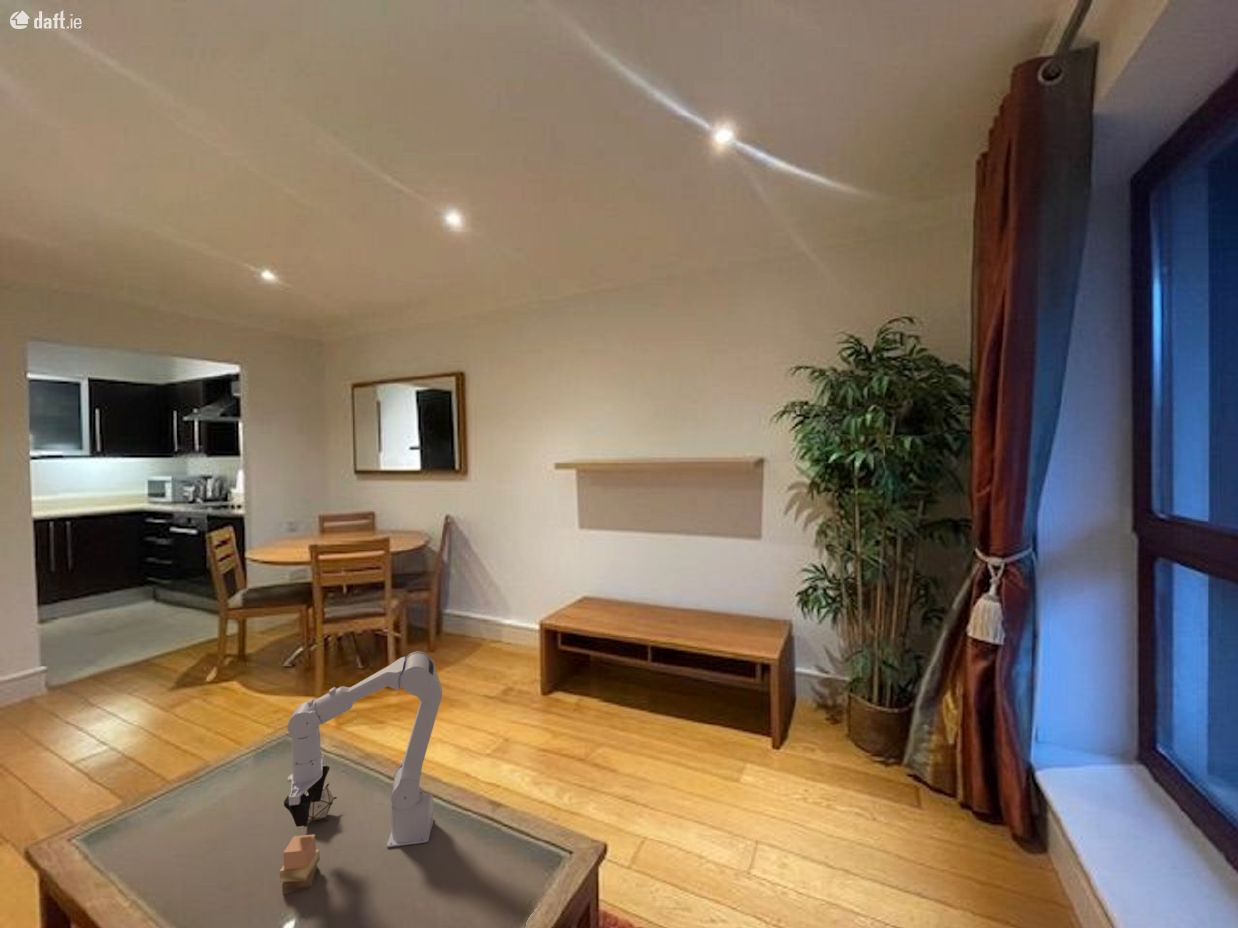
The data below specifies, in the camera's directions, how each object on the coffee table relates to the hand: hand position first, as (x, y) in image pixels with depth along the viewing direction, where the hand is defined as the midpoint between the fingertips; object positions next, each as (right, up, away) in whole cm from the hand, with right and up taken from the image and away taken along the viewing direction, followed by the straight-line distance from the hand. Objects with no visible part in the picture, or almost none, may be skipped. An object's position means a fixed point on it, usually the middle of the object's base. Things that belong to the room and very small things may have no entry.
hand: (308, 812), depth 121 cm
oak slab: (+2, -9, -6) cm, 11 cm away
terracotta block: (+2, -6, -6) cm, 9 cm away
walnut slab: (+2, -11, -6) cm, 13 cm away
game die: (-5, -10, +12) cm, 16 cm away
